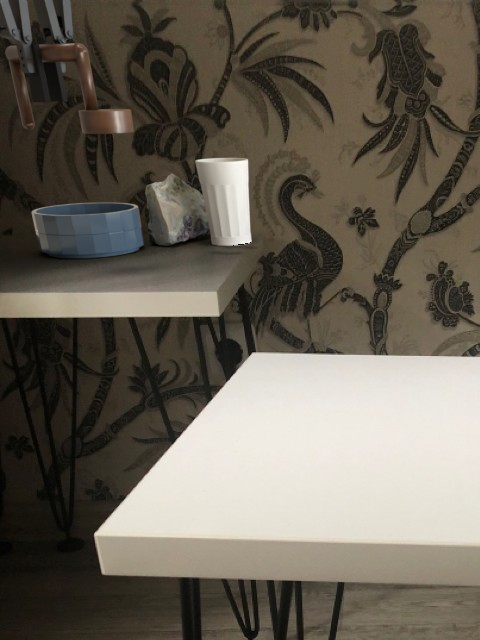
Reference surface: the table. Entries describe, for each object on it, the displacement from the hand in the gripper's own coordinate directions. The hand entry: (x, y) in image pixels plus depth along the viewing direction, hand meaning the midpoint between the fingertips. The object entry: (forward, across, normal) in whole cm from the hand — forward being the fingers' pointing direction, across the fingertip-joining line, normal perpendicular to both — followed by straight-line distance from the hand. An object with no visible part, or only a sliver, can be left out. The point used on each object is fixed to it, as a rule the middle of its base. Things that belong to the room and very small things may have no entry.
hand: (50, 101), depth 122 cm
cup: (+21, +24, -6) cm, 32 cm away
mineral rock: (+21, +22, +2) cm, 30 cm away
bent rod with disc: (+3, 0, -4) cm, 5 cm away
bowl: (+20, +8, +8) cm, 23 cm away
